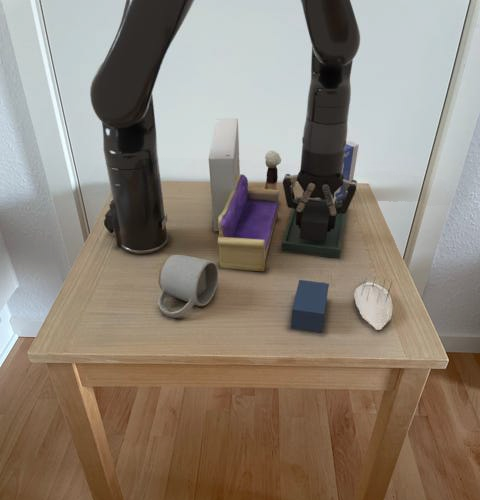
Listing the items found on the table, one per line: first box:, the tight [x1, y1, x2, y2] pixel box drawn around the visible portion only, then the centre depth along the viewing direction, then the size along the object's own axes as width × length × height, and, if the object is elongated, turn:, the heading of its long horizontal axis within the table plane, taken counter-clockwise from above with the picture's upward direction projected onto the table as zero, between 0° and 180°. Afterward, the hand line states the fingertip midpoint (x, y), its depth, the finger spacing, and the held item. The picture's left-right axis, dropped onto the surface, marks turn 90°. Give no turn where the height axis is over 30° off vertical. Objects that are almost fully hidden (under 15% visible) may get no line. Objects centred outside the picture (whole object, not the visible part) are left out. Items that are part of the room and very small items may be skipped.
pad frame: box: [281, 196, 346, 259], centre depth 102 cm, size 19×11×2 cm, turn 167°
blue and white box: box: [320, 140, 360, 202], centre depth 109 cm, size 8×3×12 cm, turn 133°
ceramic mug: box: [157, 254, 219, 319], centre depth 82 cm, size 11×8×8 cm
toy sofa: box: [217, 173, 280, 272], centre depth 96 cm, size 21×9×10 cm, turn 169°
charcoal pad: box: [300, 201, 330, 241], centre depth 96 cm, size 8×5×4 cm, turn 167°
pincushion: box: [353, 277, 394, 331], centre depth 81 cm, size 12×6×6 cm, turn 178°
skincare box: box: [208, 118, 241, 232], centre depth 105 cm, size 21×6×16 cm, turn 178°
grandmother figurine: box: [263, 149, 282, 190], centre depth 106 cm, size 8×4×13 cm, turn 178°
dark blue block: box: [290, 279, 330, 333], centre depth 81 cm, size 8×5×4 cm, turn 167°
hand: (314, 227), depth 98 cm, fingers closed on charcoal pad, 5 cm apart
